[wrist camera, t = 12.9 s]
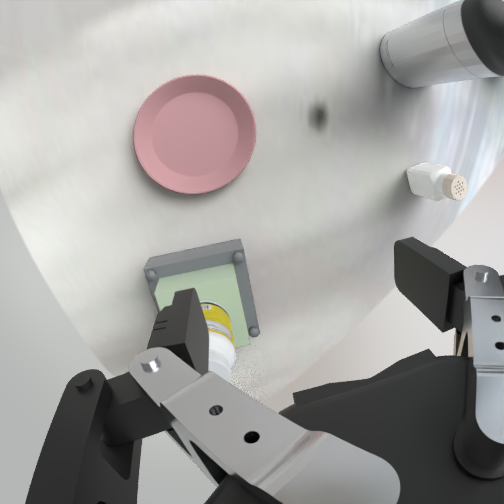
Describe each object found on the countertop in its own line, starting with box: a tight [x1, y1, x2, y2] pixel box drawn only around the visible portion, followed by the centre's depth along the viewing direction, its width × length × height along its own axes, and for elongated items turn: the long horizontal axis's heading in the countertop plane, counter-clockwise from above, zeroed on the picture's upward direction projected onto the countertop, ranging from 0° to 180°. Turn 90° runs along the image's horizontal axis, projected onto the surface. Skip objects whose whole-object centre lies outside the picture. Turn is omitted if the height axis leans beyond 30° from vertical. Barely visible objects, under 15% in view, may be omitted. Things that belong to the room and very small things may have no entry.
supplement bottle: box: [200, 301, 236, 383], centre depth 30 cm, size 5×5×10 cm
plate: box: [133, 75, 256, 194], centre depth 35 cm, size 14×14×2 cm
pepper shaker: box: [406, 162, 467, 201], centre depth 36 cm, size 4×4×10 cm
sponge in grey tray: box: [144, 239, 260, 348], centre depth 38 cm, size 12×12×8 cm
